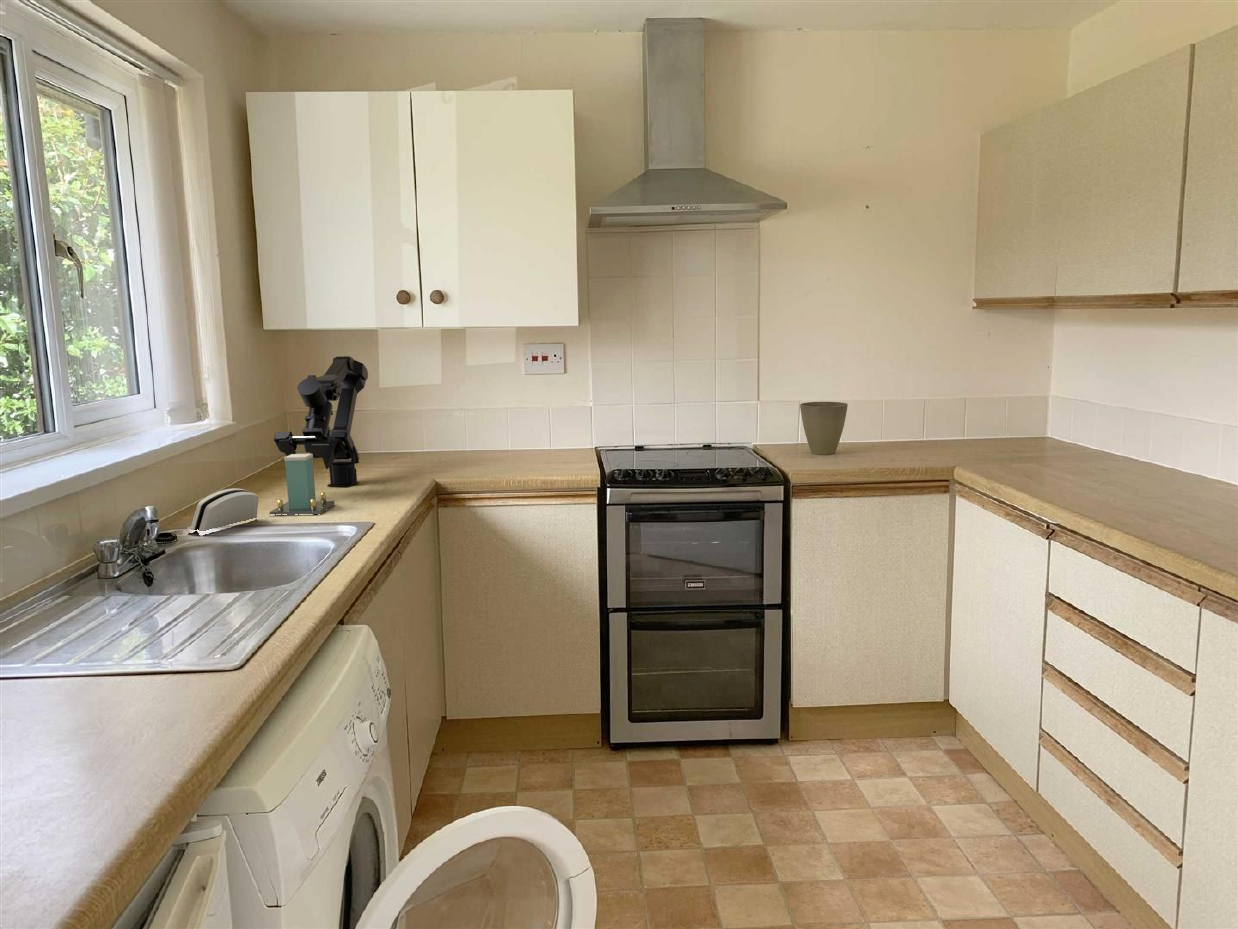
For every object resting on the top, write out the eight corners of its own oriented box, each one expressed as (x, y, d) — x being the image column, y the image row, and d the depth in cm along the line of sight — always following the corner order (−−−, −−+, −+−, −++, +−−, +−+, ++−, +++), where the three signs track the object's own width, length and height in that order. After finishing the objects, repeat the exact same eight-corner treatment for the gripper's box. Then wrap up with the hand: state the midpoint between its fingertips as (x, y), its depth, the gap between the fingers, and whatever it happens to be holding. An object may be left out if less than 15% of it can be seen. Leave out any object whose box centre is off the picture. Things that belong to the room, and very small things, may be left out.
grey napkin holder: (240, 518, 220) (248, 480, 217) (256, 526, 218) (263, 488, 216) (184, 534, 205) (191, 494, 202) (200, 543, 203) (207, 502, 200)
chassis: (287, 505, 233) (286, 492, 233) (334, 504, 233) (333, 491, 233) (269, 516, 222) (268, 502, 221) (319, 515, 221) (318, 500, 221)
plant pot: (792, 451, 302) (793, 402, 299) (835, 448, 305) (836, 400, 302) (810, 458, 288) (810, 407, 285) (854, 455, 290) (855, 405, 287)
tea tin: (295, 504, 230) (291, 454, 228) (316, 503, 230) (312, 453, 228) (288, 508, 225) (284, 457, 223) (309, 508, 225) (305, 457, 223)
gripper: (361, 436, 247) (353, 485, 239) (292, 438, 248) (281, 486, 239) (351, 411, 238) (341, 460, 229) (279, 412, 238) (267, 462, 230)
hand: (308, 468), depth 232 cm, fingers open, 9 cm apart
